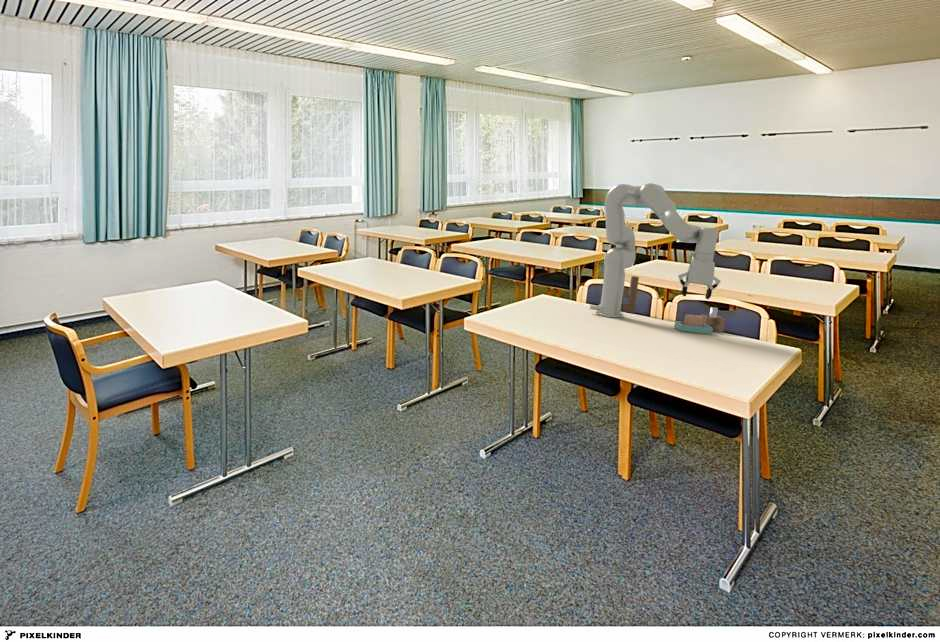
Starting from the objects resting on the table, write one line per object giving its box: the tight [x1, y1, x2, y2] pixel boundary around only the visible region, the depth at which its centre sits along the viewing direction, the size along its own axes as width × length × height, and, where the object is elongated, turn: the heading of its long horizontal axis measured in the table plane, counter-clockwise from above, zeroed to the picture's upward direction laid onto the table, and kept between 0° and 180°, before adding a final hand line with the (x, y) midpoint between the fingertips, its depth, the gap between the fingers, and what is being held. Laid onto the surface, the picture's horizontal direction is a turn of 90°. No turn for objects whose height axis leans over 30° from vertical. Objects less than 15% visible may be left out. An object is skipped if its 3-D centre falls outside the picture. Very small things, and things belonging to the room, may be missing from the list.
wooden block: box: [621, 275, 640, 314], centre depth 291 cm, size 4×11×18 cm, turn 52°
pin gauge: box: [708, 306, 719, 318], centre depth 256 cm, size 3×3×10 cm
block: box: [683, 313, 704, 327], centre depth 249 cm, size 6×6×6 cm
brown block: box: [700, 314, 726, 334], centre depth 256 cm, size 8×8×6 cm
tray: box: [673, 320, 713, 335], centre depth 249 cm, size 13×10×3 cm
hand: (695, 297), depth 248 cm, fingers open, 9 cm apart
